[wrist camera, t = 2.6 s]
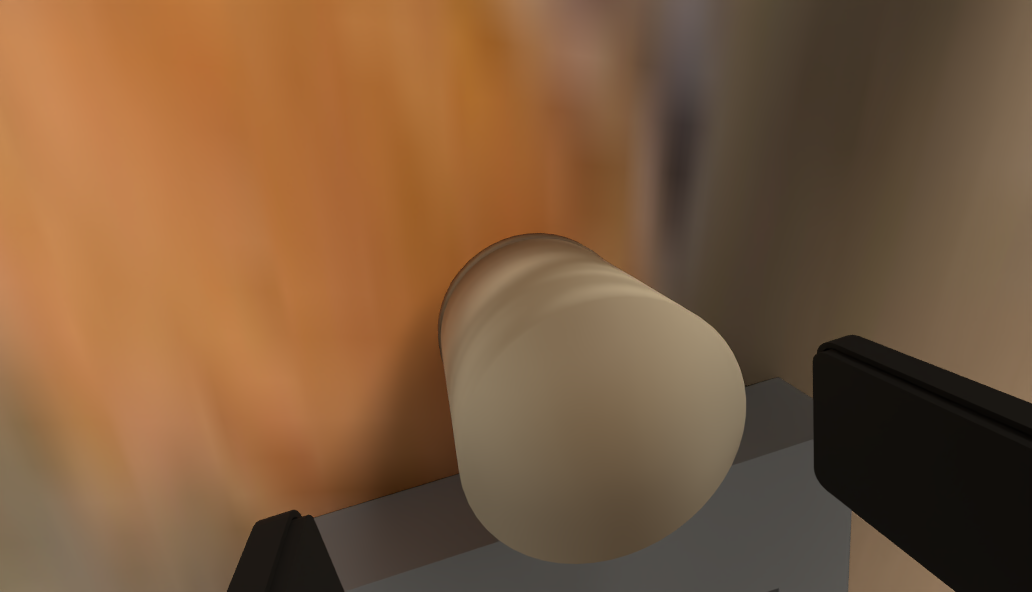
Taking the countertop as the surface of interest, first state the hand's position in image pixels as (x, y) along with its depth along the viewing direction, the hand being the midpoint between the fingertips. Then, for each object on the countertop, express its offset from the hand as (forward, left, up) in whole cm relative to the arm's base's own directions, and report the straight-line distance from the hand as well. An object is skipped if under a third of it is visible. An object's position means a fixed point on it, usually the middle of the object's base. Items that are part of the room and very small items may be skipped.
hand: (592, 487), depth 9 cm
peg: (-1, 0, -10) cm, 10 cm away
